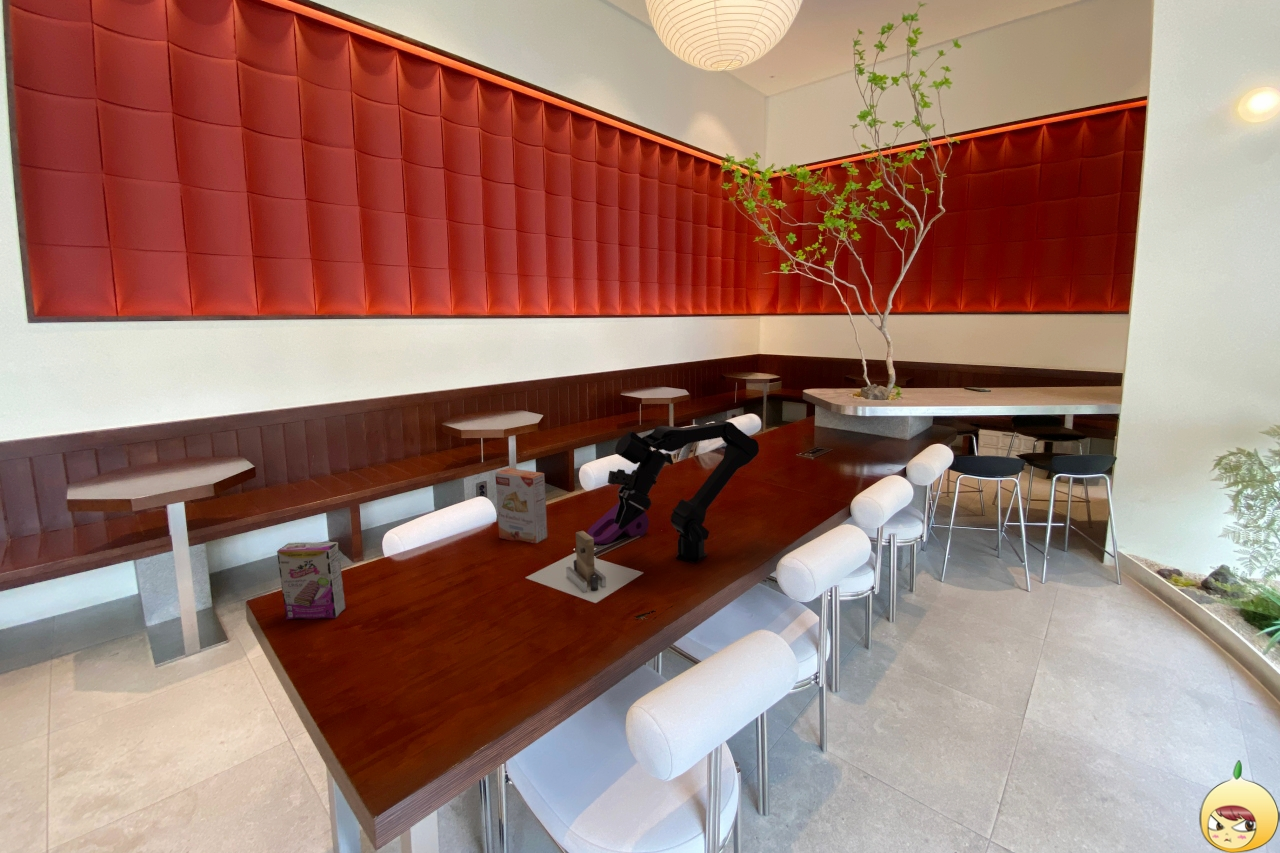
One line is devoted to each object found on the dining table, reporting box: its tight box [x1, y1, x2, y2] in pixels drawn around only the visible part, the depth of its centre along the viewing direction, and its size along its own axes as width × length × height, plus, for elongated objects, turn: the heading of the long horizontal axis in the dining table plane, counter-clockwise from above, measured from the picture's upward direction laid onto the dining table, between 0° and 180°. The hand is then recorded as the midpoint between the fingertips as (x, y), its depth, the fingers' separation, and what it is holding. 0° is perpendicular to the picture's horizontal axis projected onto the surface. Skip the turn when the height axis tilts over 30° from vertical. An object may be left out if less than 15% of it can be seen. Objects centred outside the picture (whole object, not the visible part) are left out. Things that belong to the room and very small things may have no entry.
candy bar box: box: [276, 541, 346, 620], centre depth 129 cm, size 11×5×16 cm, turn 92°
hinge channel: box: [566, 560, 606, 593], centre depth 142 cm, size 6×12×4 cm, turn 30°
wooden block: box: [575, 530, 595, 587], centre depth 141 cm, size 3×6×12 cm, turn 30°
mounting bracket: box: [586, 501, 650, 545], centre depth 173 cm, size 9×8×18 cm
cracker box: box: [495, 467, 548, 544], centre depth 170 cm, size 14×6×21 cm, turn 62°
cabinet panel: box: [525, 552, 644, 604], centre depth 146 cm, size 23×19×1 cm
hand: (617, 526), depth 146 cm, fingers open, 9 cm apart
